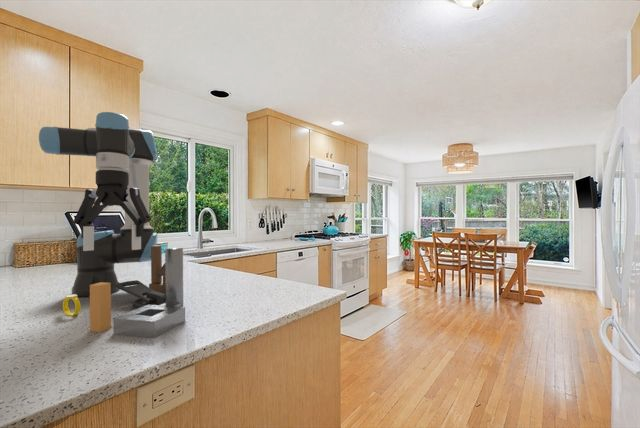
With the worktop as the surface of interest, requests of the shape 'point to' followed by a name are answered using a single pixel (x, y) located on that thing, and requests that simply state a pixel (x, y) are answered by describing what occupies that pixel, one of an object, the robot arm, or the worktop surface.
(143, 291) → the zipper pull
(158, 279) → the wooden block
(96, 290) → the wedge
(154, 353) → the worktop surface
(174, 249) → the grey l-shaped piece
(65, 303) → the watch
